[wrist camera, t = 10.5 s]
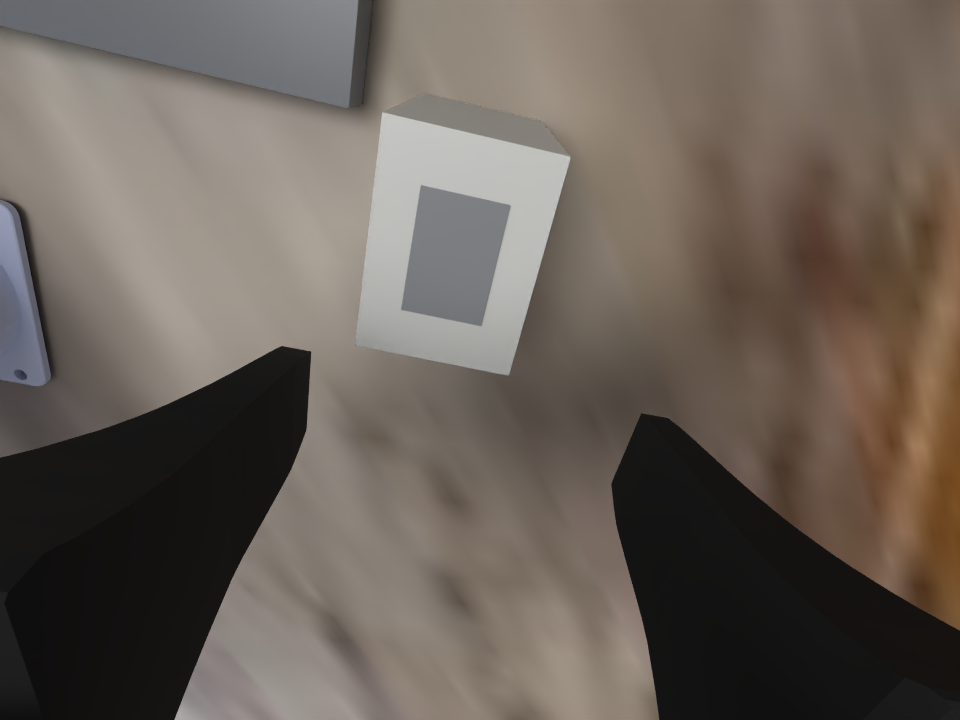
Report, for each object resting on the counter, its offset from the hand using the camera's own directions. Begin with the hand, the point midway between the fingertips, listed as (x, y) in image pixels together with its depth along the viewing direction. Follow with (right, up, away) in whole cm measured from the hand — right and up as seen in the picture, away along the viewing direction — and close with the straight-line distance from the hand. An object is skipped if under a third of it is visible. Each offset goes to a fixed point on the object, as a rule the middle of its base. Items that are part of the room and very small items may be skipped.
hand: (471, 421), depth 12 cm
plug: (0, +8, +8) cm, 11 cm away
